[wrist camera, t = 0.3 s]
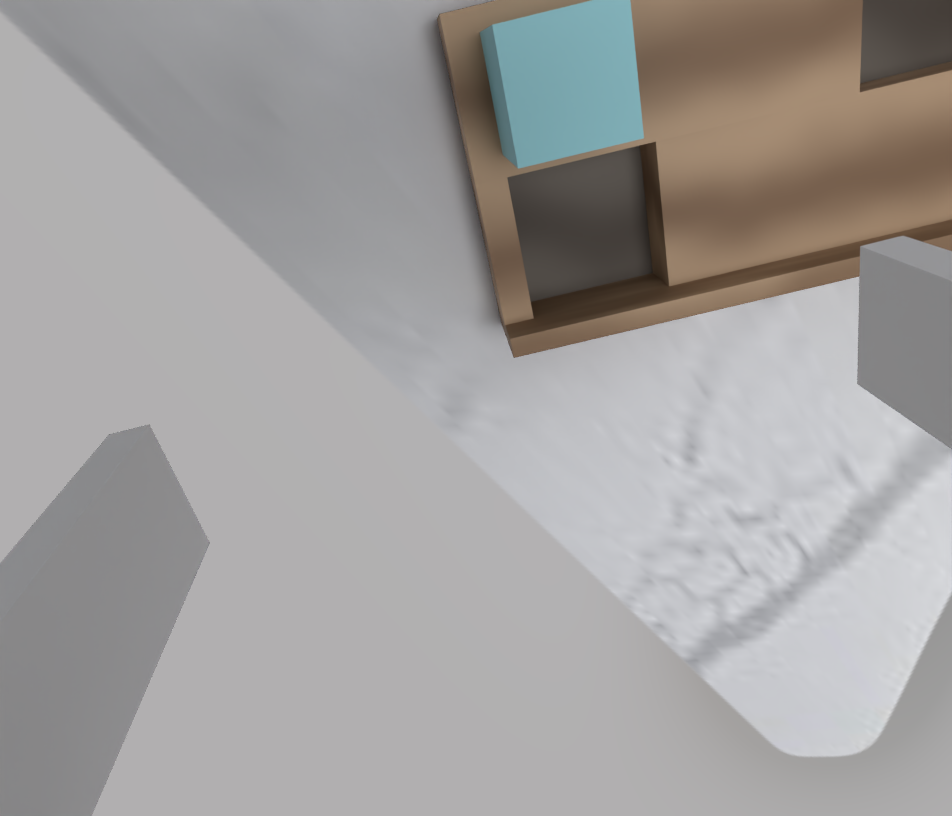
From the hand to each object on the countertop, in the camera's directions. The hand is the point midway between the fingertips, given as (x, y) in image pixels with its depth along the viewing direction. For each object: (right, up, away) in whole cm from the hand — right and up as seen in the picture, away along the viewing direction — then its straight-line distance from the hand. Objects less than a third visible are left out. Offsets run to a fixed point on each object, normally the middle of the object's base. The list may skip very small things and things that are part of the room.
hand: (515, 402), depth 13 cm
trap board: (+15, +15, +21) cm, 30 cm away
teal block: (+2, +14, +17) cm, 22 cm away
